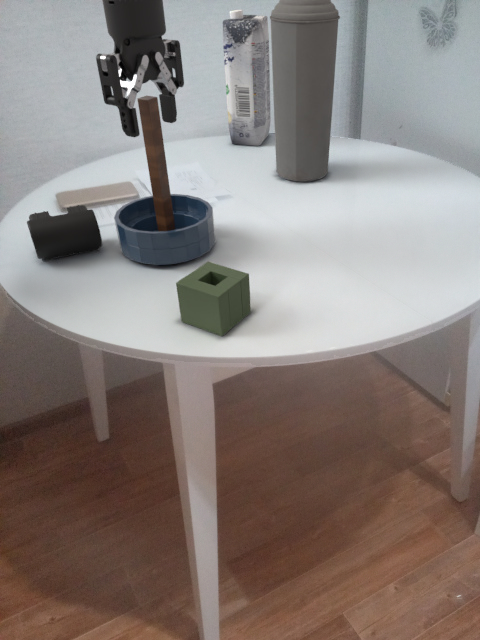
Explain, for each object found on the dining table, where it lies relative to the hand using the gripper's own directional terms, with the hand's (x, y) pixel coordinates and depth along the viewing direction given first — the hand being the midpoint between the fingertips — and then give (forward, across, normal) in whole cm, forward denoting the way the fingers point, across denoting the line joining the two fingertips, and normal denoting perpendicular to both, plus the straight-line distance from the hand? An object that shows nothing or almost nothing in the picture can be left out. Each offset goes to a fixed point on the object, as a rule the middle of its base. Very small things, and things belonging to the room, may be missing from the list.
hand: (151, 128), depth 81 cm
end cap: (+19, +10, -12) cm, 25 cm away
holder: (+19, +13, +20) cm, 30 cm away
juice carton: (+19, -55, -21) cm, 62 cm away
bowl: (+19, 0, 0) cm, 19 cm away
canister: (+19, -41, +2) cm, 45 cm away
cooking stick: (+18, 0, 0) cm, 18 cm away
